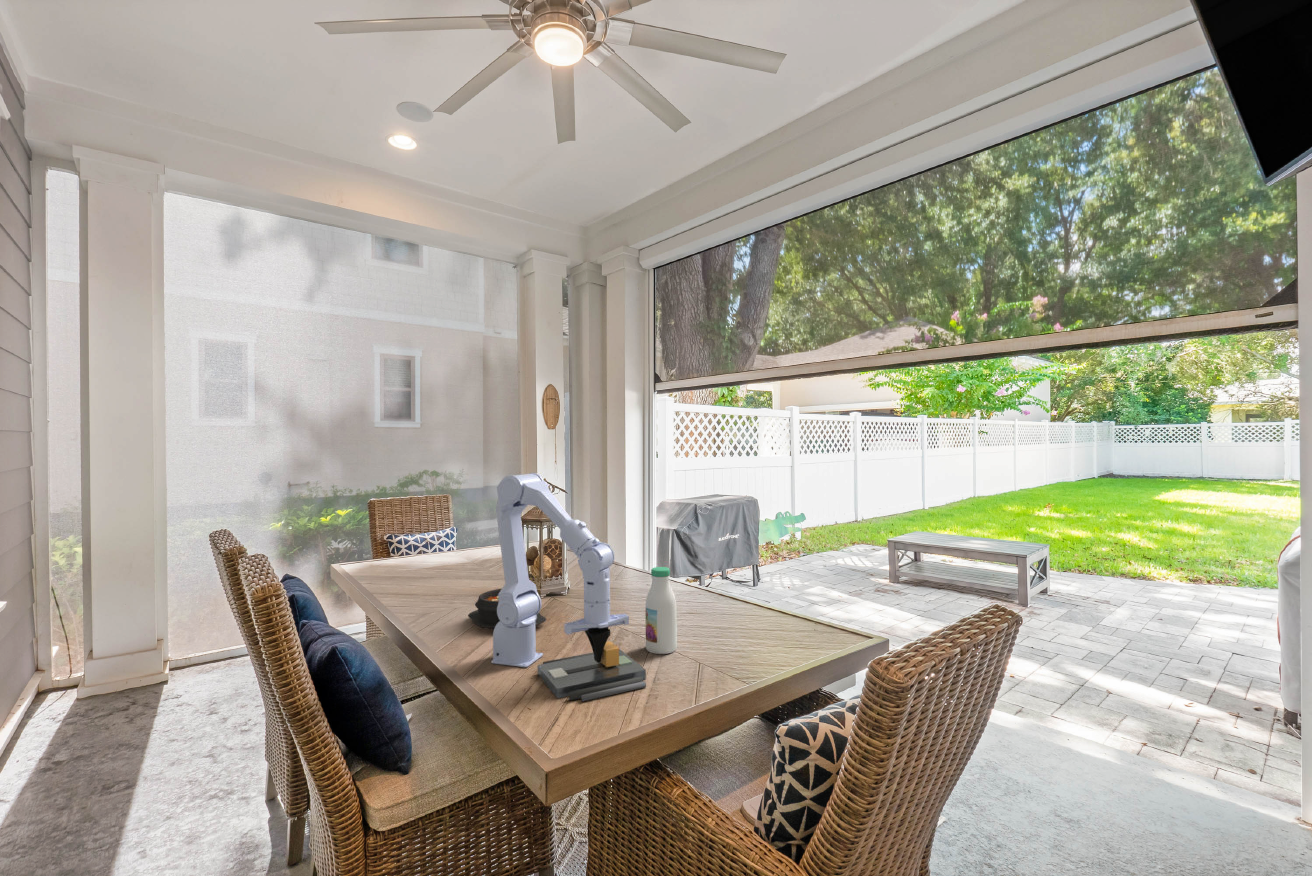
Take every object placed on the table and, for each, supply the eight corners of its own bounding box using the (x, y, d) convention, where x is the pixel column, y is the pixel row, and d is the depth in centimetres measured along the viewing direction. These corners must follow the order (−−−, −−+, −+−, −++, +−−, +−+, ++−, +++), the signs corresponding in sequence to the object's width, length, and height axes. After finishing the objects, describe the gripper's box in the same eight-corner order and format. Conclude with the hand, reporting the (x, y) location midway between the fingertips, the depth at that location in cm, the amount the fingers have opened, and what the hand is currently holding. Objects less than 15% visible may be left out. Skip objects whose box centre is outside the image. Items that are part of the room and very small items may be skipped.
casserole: (561, 623, 168) (561, 593, 168) (508, 642, 153) (508, 609, 153) (505, 608, 183) (504, 581, 183) (451, 624, 169) (451, 594, 168)
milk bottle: (675, 643, 151) (675, 564, 151) (678, 654, 143) (677, 571, 143) (645, 644, 151) (644, 565, 151) (646, 655, 143) (645, 572, 143)
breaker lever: (606, 667, 130) (606, 650, 130) (598, 659, 134) (597, 643, 134) (619, 664, 131) (618, 648, 131) (610, 657, 136) (610, 641, 136)
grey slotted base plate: (573, 704, 117) (573, 696, 117) (542, 667, 136) (542, 660, 136) (646, 688, 125) (646, 680, 125) (607, 655, 143) (607, 648, 143)
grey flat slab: (557, 698, 120) (556, 687, 120) (537, 673, 133) (537, 663, 133) (645, 678, 129) (645, 668, 129) (619, 657, 142) (619, 647, 142)
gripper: (571, 609, 125) (572, 673, 125) (634, 599, 131) (635, 661, 131) (561, 600, 131) (561, 662, 131) (621, 592, 138) (622, 650, 138)
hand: (597, 661), depth 132 cm, fingers closed
